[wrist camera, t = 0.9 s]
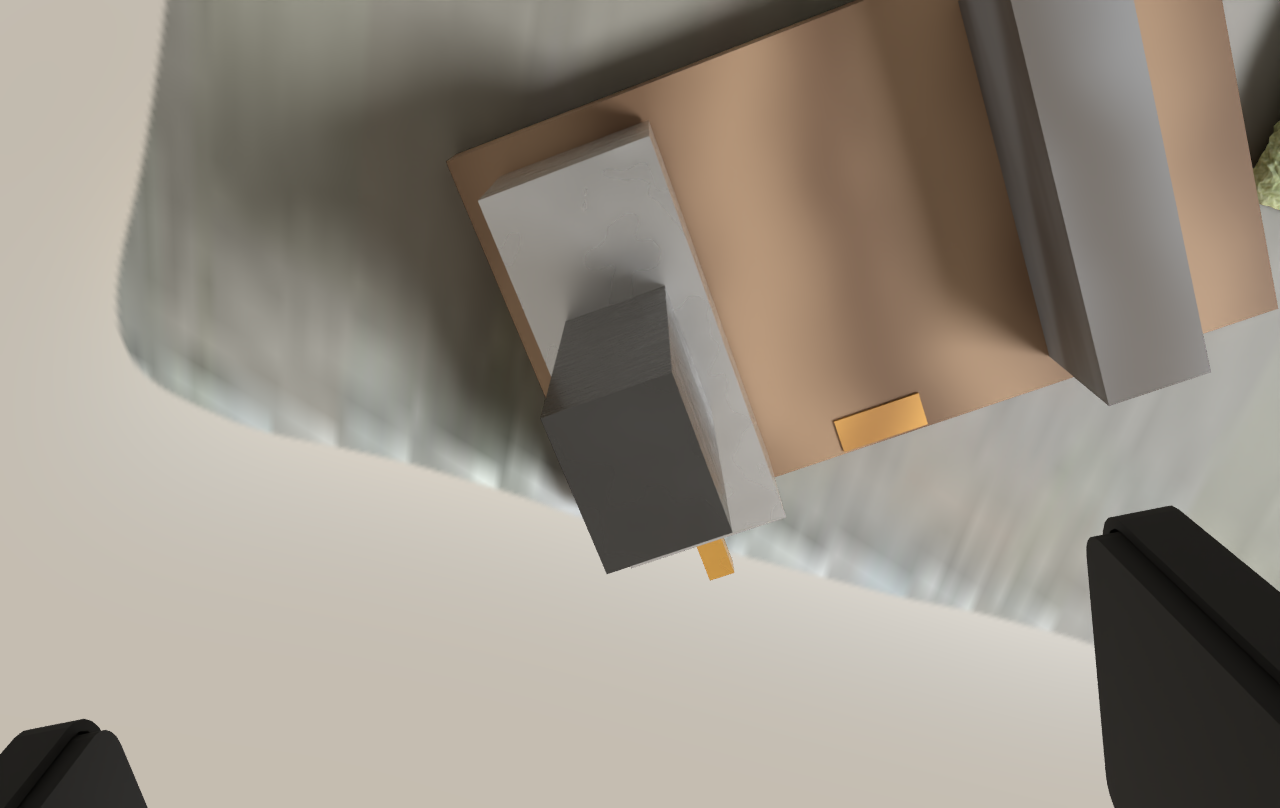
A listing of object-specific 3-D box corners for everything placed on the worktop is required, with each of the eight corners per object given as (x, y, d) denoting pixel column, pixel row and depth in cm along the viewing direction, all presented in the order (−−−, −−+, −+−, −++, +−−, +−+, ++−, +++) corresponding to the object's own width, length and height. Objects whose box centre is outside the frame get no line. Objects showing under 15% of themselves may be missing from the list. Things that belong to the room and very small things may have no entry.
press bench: (1167, -120, 34) (1294, -155, 27) (1246, 294, 38) (1372, 351, 32) (456, 154, 37) (414, 183, 30) (605, 510, 41) (597, 605, 34)
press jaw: (648, 119, 34) (651, 175, 22) (780, 489, 38) (845, 712, 26) (500, 176, 35) (421, 261, 22) (646, 534, 39) (647, 773, 26)
